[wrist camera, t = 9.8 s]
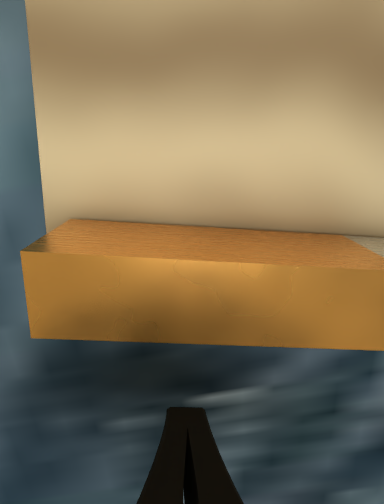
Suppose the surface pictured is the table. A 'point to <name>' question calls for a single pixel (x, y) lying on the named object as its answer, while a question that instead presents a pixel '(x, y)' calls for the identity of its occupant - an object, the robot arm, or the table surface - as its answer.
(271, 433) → the table surface
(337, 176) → the base
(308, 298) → the block
